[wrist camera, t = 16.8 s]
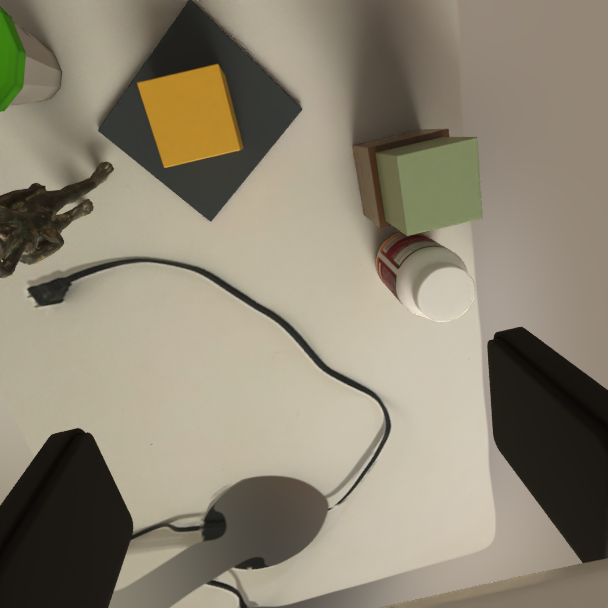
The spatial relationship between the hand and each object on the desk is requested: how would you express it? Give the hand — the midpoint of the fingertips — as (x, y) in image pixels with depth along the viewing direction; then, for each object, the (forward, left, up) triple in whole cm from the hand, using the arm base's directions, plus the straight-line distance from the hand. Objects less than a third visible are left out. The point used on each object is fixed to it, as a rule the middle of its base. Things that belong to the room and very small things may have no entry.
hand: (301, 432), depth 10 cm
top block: (-2, -10, -34) cm, 35 cm away
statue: (+9, -13, -34) cm, 38 cm away
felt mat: (-2, -10, -34) cm, 35 cm away
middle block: (-10, +6, -28) cm, 30 cm away
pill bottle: (-5, +13, -34) cm, 37 cm away
